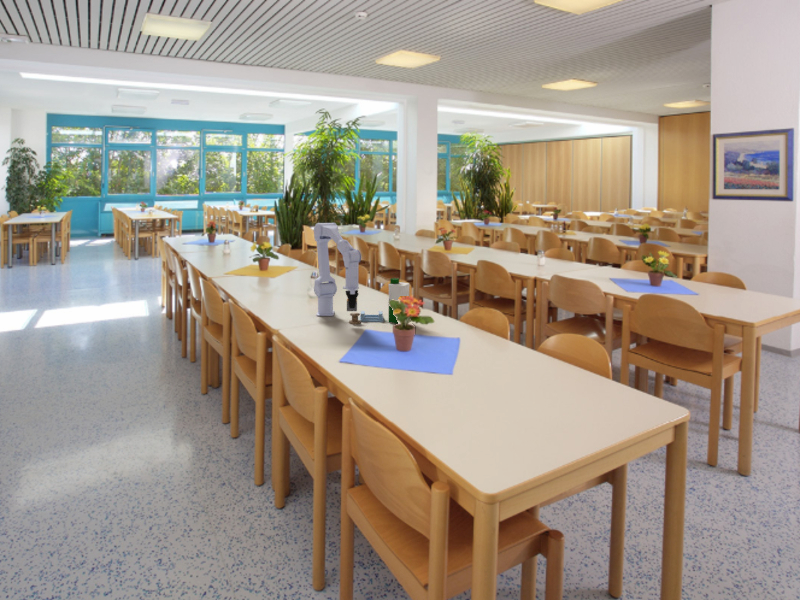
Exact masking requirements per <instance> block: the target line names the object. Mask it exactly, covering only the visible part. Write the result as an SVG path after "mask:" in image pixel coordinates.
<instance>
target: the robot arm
mask: <svg viewBox="0 0 800 600" xmlns="http://www.w3.org/2000/svg"><path fill="white" fill-rule="evenodd" d="M313 236H314V241H316V251H317V263H318V273H319V276H318V277H317V278H316V279H315V280H314V286H313V291H314V295H315V296H316V297H317V313H316V316H317V317H318V316H319V317H333V316H334V315H335V310H334V297H335V295H336V293H337V291H338V289H337V288H338V286H337V284H336V279H335V278H334V277H333V276H331V270H330V269H331V268H330V258H329V242H330V241H331V240H332V241H333V242H334V243H335V244H336V249H337V250H338V252H340V253H341V255H342V259H343V264H344V268H345V286H342V289H343V290H345V296H346V298H347V299H348V301H349V307H350V308H355V303H356V299H357V300H358V297H359V295H360V294H359V293H360V292H359V289H360V286H359V269H360V268H359V263H361V260H362V254H361V251H360V250H359V249H356V248H354V247H353V246H352V245H351V243H350V242H349V241H348V240H347V239H344V238H343V237H342V235H341V233H340V232H339V226H338V225H337V223H336V222H317V223H315V225H314V227H313Z"/></svg>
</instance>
